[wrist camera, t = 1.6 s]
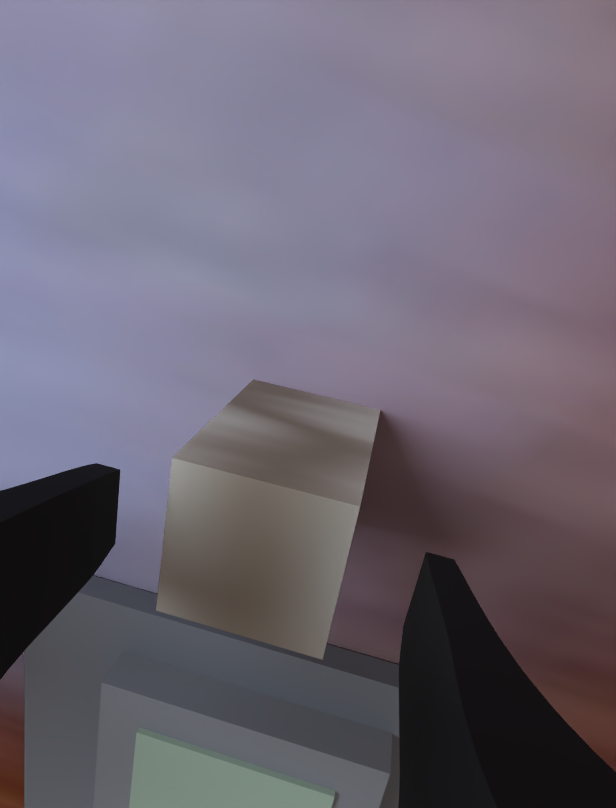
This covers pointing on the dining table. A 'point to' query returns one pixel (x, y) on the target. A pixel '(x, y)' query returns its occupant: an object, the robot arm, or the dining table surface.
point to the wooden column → (266, 515)
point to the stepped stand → (199, 715)
